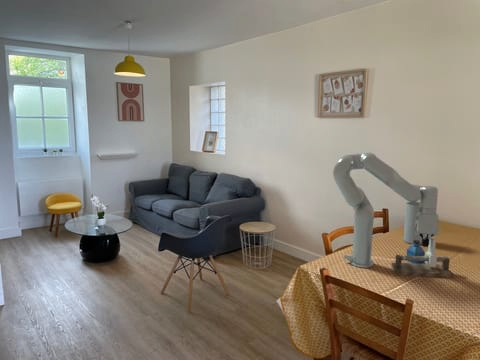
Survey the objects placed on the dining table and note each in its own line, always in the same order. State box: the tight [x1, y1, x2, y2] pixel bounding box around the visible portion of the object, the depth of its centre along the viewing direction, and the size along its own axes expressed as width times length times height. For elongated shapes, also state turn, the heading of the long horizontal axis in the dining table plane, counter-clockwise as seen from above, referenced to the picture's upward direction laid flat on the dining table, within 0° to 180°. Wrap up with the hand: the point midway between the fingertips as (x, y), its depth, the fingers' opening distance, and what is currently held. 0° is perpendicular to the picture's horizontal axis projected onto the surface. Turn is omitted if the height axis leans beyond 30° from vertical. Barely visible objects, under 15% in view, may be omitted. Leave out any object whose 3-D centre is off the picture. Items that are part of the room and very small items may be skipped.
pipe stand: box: [390, 254, 455, 279], centre depth 182 cm, size 26×12×8 cm, turn 84°
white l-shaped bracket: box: [424, 236, 438, 267], centre depth 180 cm, size 3×6×14 cm, turn 174°
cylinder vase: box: [403, 201, 426, 246], centre depth 227 cm, size 12×12×25 cm
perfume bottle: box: [406, 240, 426, 264], centre depth 195 cm, size 6×6×12 cm
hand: (425, 246), depth 180 cm, fingers closed
